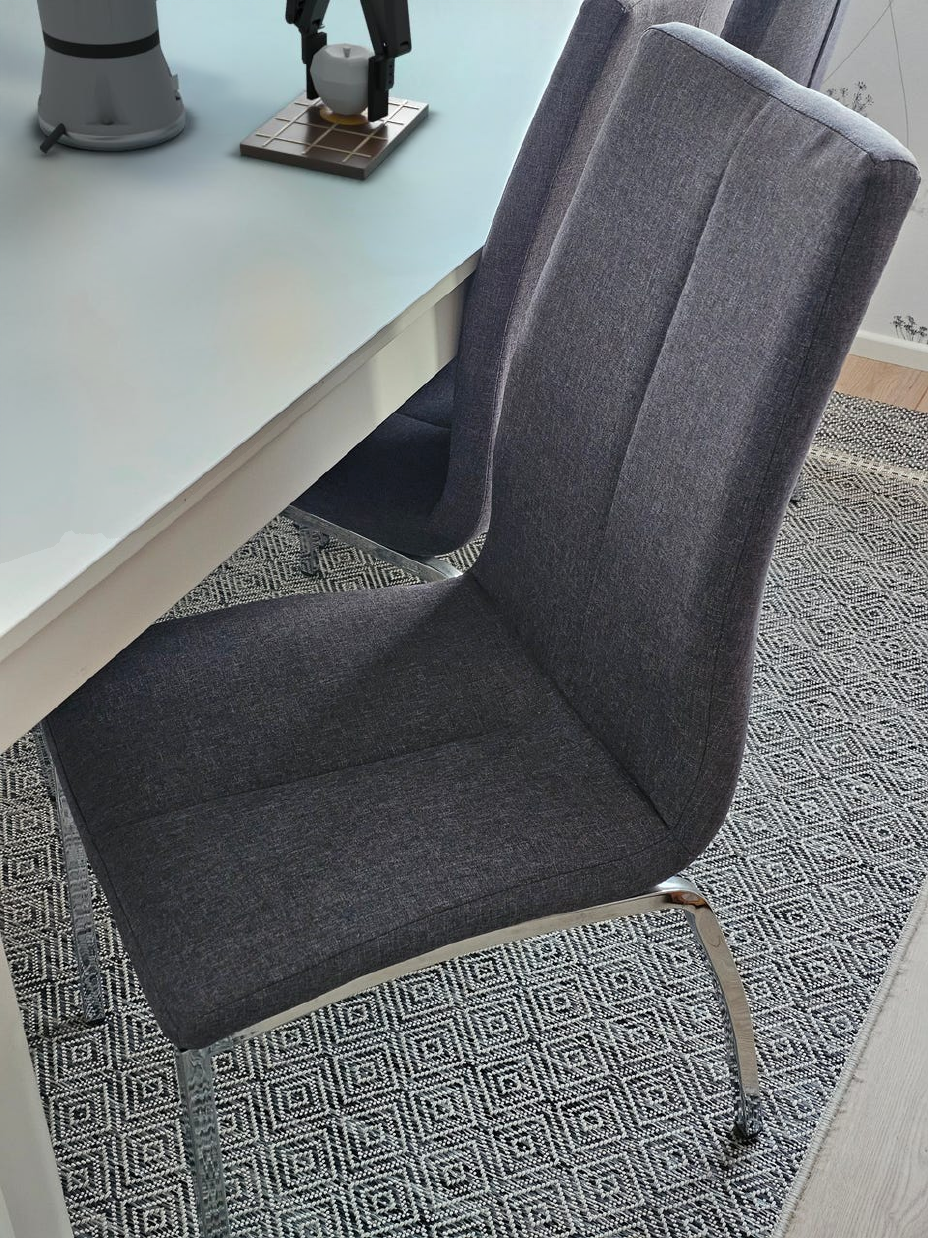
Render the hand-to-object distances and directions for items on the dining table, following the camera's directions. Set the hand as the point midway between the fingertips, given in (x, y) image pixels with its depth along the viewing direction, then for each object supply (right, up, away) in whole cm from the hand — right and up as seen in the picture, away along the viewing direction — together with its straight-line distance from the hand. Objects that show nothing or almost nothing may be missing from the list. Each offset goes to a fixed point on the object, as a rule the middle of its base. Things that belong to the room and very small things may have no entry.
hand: (347, 106), depth 133 cm
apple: (0, 0, 0) cm, 0 cm away
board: (-1, -3, -1) cm, 4 cm away
